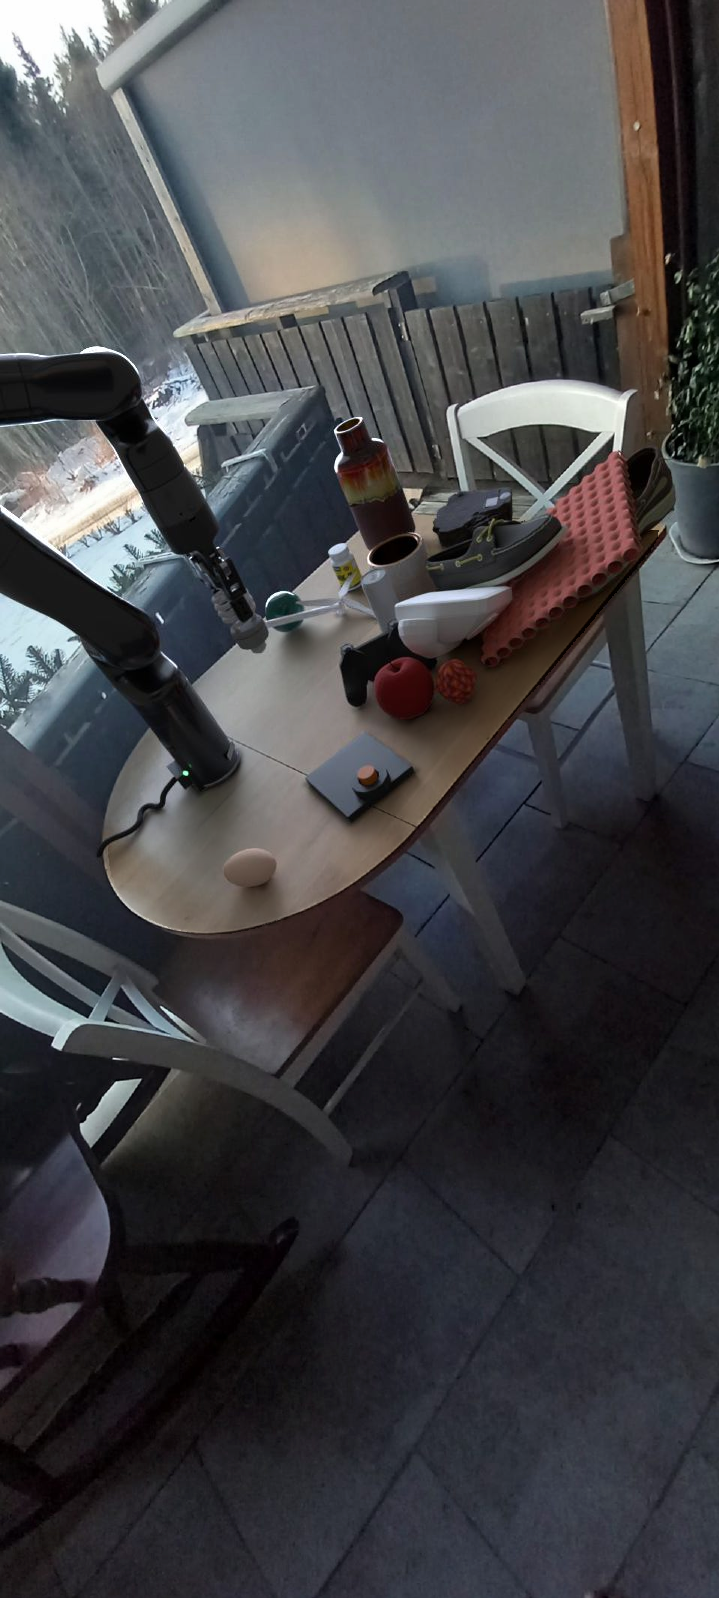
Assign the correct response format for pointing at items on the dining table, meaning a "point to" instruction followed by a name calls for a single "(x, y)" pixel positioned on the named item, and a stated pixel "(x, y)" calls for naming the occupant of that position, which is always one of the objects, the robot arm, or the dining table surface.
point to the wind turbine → (328, 608)
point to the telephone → (448, 617)
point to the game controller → (373, 661)
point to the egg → (250, 867)
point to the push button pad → (342, 781)
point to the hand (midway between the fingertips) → (238, 612)
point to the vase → (371, 484)
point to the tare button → (367, 775)
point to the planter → (403, 564)
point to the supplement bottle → (345, 565)
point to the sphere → (283, 609)
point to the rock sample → (471, 514)
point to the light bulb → (243, 624)
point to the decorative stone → (455, 681)
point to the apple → (404, 688)
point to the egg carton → (571, 557)
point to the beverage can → (380, 596)
